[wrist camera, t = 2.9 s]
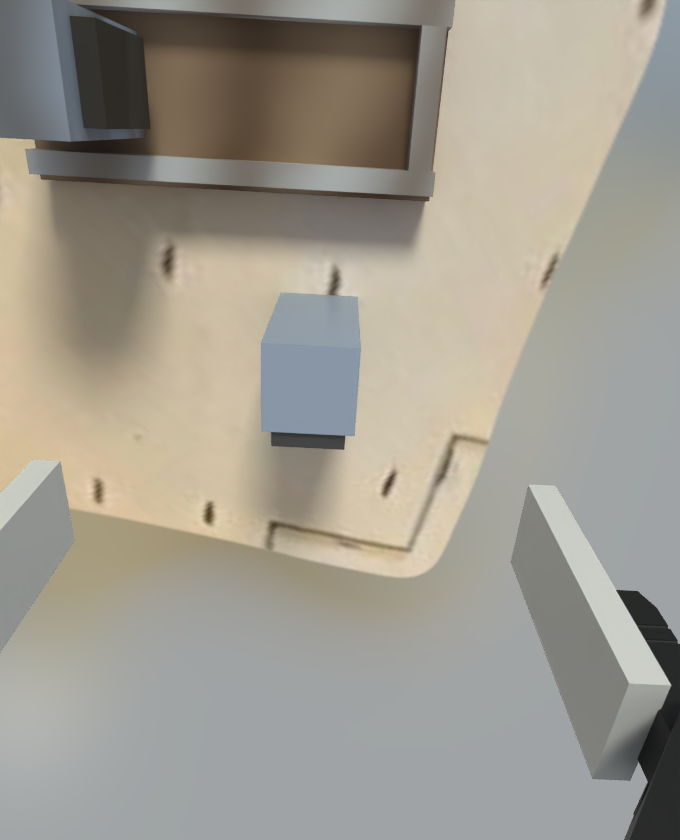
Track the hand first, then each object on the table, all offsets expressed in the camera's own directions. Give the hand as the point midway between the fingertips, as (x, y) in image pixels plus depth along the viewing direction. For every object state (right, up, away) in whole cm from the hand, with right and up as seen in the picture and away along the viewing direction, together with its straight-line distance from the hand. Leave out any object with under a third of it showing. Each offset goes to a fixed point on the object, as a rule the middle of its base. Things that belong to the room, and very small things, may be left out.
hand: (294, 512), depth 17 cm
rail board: (-3, +17, +10) cm, 20 cm away
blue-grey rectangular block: (0, +7, +15) cm, 17 cm away
